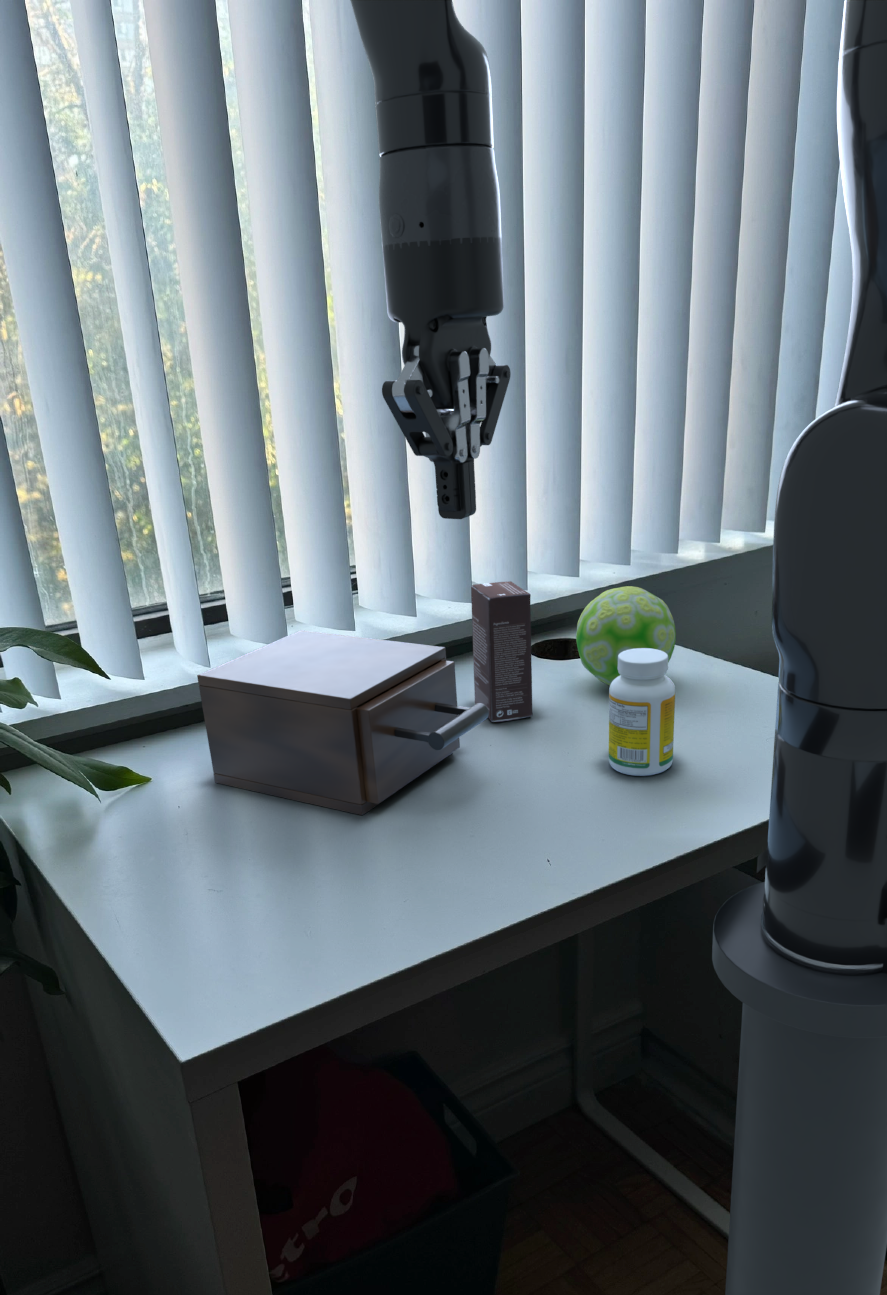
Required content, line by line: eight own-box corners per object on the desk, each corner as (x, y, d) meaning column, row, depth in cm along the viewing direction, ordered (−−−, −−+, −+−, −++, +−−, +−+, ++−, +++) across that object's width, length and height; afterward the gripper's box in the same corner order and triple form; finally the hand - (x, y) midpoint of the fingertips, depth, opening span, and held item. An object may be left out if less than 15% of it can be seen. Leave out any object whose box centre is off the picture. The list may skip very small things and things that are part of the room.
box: (536, 717, 103) (532, 592, 98) (490, 724, 102) (484, 598, 97) (516, 697, 108) (511, 578, 103) (473, 703, 107) (466, 584, 102)
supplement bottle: (623, 781, 88) (623, 669, 84) (599, 757, 93) (598, 650, 89) (684, 771, 89) (687, 660, 85) (657, 748, 94) (659, 641, 90)
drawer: (508, 755, 92) (504, 667, 89) (428, 815, 82) (421, 718, 79) (328, 724, 102) (318, 644, 98) (238, 774, 92) (224, 687, 89)
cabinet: (452, 753, 96) (445, 647, 92) (362, 815, 85) (350, 699, 81) (313, 728, 104) (300, 629, 100) (214, 782, 93) (196, 675, 89)
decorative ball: (556, 686, 110) (554, 589, 106) (626, 663, 115) (626, 570, 111) (626, 709, 103) (626, 607, 99) (697, 684, 108) (700, 585, 104)
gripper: (435, 230, 61) (454, 539, 68) (542, 232, 71) (549, 501, 78) (329, 241, 64) (358, 533, 72) (445, 242, 74) (460, 498, 82)
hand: (457, 516), depth 75 cm, fingers closed
